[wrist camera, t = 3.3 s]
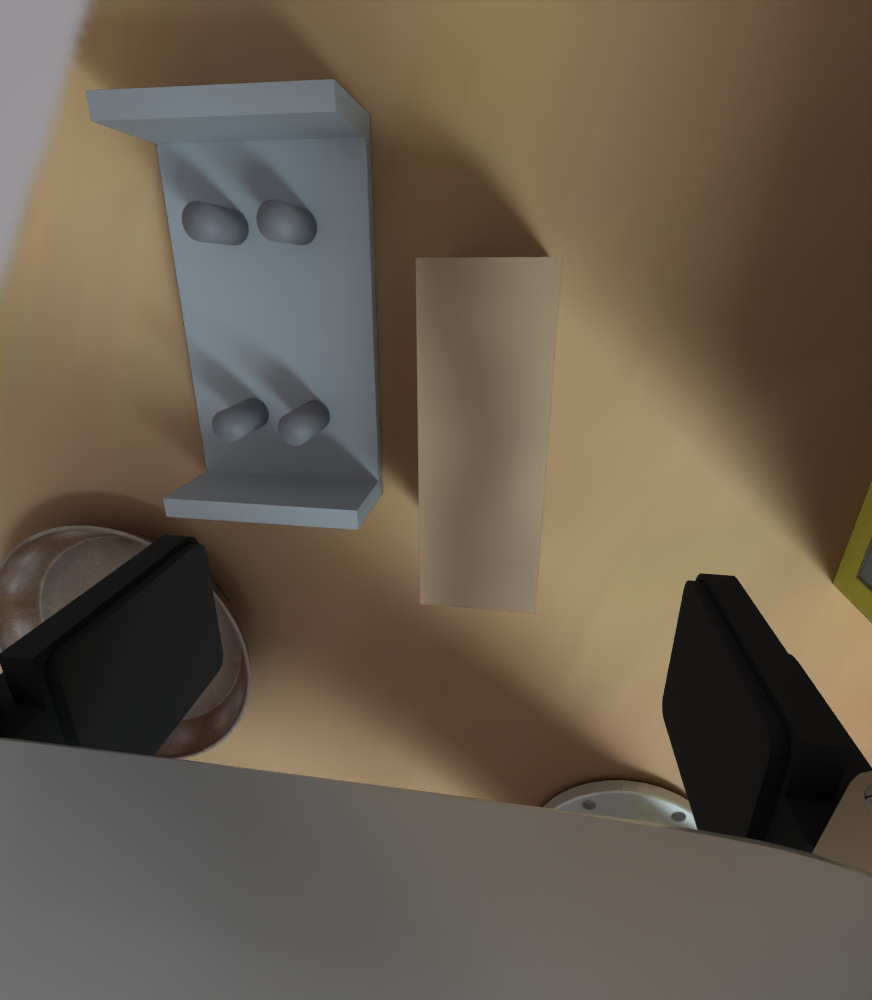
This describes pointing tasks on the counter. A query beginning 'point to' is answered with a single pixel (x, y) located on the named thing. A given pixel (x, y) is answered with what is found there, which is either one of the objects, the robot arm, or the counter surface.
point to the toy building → (858, 562)
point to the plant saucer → (80, 565)
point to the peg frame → (271, 292)
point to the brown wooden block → (483, 425)
